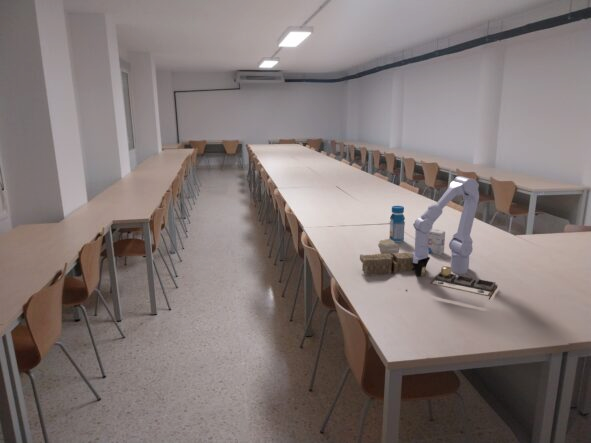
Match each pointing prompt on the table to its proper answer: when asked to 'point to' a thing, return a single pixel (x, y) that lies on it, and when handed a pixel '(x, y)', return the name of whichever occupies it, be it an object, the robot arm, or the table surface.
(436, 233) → the ink box
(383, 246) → the fossil replica
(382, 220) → the table surface
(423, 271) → the brass peg
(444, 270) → the placed peg
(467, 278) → the board
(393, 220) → the beverage bottle
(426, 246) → the robot arm
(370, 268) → the block tower
